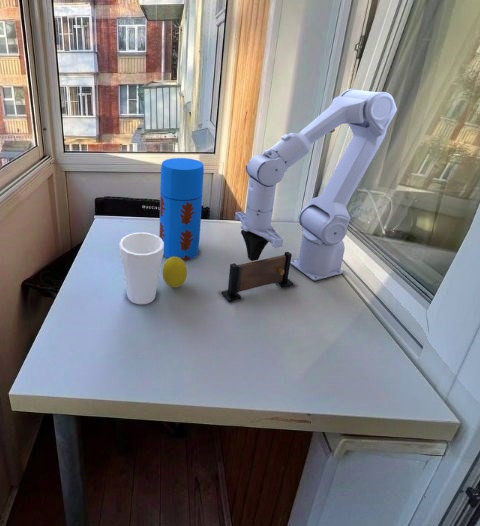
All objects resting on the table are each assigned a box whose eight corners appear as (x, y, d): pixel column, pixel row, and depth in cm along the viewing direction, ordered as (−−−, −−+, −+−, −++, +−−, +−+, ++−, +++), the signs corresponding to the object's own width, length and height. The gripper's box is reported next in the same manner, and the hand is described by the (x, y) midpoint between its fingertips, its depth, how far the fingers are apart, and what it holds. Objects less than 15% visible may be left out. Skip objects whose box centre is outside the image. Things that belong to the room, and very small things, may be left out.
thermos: (166, 263, 85) (169, 171, 78) (154, 242, 95) (155, 159, 88) (205, 258, 88) (211, 168, 80) (189, 238, 98) (194, 156, 90)
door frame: (284, 277, 80) (288, 248, 77) (293, 285, 77) (298, 255, 75) (221, 293, 74) (224, 262, 72) (229, 302, 72) (232, 270, 69)
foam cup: (168, 288, 76) (170, 237, 72) (153, 314, 68) (154, 259, 64) (131, 277, 80) (130, 229, 76) (112, 301, 72) (111, 248, 68)
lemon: (185, 296, 73) (186, 265, 71) (160, 293, 74) (161, 262, 72) (186, 281, 79) (188, 251, 76) (163, 278, 80) (164, 249, 77)
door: (279, 278, 78) (283, 254, 76) (285, 283, 76) (289, 258, 74) (233, 290, 74) (236, 265, 72) (238, 295, 72) (241, 269, 70)
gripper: (226, 197, 81) (222, 246, 85) (266, 223, 68) (259, 280, 72) (250, 194, 83) (245, 242, 87) (294, 218, 70) (285, 273, 74)
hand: (253, 259), depth 80 cm, fingers closed
